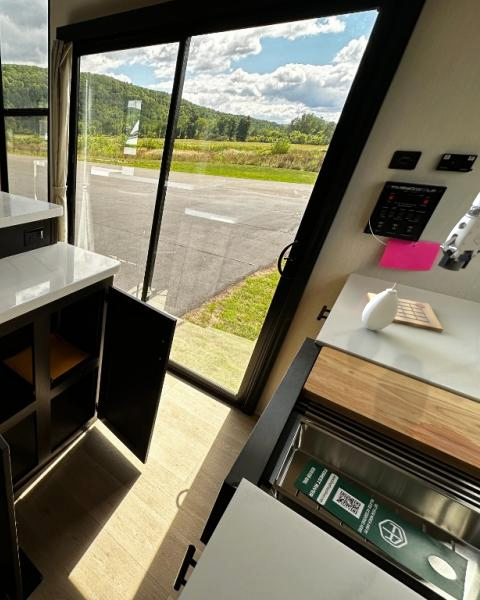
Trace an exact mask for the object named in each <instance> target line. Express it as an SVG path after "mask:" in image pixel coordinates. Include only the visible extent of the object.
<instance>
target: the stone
mask: <svg viewBox="0 0 480 600" xmlns="http://www.w3.org/2000/svg"><path fill="white" fill-rule="evenodd" d="M454 258H456V259H455V260H454V262H453V263H452V265H451V266H450V268H449V269H446V270H447V271H450V272H459V271H460V270H462V269H461V268H462V266H463V265H464V263H465V262H466V260H465V259H462V258H459V256H455V257H454Z"/></svg>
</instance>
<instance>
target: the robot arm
mask: <svg viewBox="0 0 480 600" xmlns="http://www.w3.org/2000/svg"><path fill="white" fill-rule="evenodd" d="M439 249H440V250H441V252H442V255H443V256H442V257H441V259H440V260H439V262H438V264H437V266H438V267H440V268H442V269H444V270H447V269H449V268H450V266H451V265H452V263H453V262H454V260H455V259H456V258H454V257H457V255H458V254H459V255H458V257H459V258H462V259H465V260H466V262H465V263H464V265H463V266H462V268H461V269H460V270H465V269H467V267H468V265H469V264H470V262H471V261H472V260H473V258H475V257H476V256H477V254H480V191H479V192H478V194H477V195H476V197H475V198H474V201H473V202H472V203H471V204H470V206H469V208H468V210H467V212H466V213H465V215H463V217H462V218H460V220H459V221H458V222H457V224H456V225H455V226H454V227H453V229H452V230H451V231H450V233H449V235H448V236H447V238H446V240H445V242H443V243H442V244H441V245H440V246H439ZM461 251H463V252H462V253H460V252H461Z"/></svg>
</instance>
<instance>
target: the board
mask: <svg viewBox="0 0 480 600" xmlns="http://www.w3.org/2000/svg"><path fill="white" fill-rule="evenodd" d="M378 294H379V293H378ZM378 294H377V293H373V292H367V293H366V298H367V301H368V303H369V302H370V301H371V300H372V299H373V298H374V297H375V296H377V295H378ZM391 323H396V324H403V325H407V326H412V327H415V328H421V329H425V330H430V331H435V332H439V333H442V332H443V331H444V328H443V326H442V324H441V322H440V321H439V319H438V318H437V315H436V314H435V312H434V310H433V309H432V307H431V305H430V304H429V303H426V302H420V301H415V300H411V299H405V298H404V299H403V298H399V297H398V311H397V314H396V316H395V318H394V320H393V321H392V322H391Z"/></svg>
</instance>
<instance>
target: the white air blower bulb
mask: <svg viewBox="0 0 480 600" xmlns="http://www.w3.org/2000/svg"><path fill="white" fill-rule="evenodd" d="M396 286H397V282H395V283H394V285H393V286H392V288H386V290H384V291H381V292H380V293H378V295H377V296H375V297H374V298H373V299H372V300H371V301H370V302H369V301H368V302H367V304H366V306H365V307H364V309H363V310H362V313H361V314H362V315H361V320H362V324H363V326H364V327H365V328H366V329H368V330H370V331H380V330H383V329H386V328H387V327H389V326H390V325H391V324H392V323H393V322H392V321H393V320H394V318H395V316H396V314H397V311H398V298H399V297H398V295H397V294H398V291H397V290H396V289H395V288H396Z"/></svg>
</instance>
